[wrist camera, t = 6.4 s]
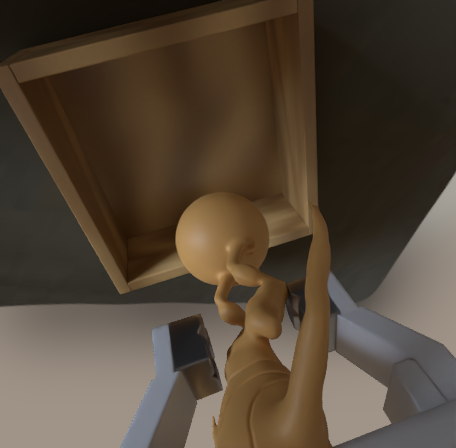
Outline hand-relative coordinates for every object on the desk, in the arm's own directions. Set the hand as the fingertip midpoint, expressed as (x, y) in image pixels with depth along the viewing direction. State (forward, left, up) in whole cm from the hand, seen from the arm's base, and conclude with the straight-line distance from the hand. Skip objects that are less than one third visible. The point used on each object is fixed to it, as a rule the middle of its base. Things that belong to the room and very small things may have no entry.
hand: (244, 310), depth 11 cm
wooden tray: (0, 0, -16) cm, 16 cm away
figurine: (-1, 0, -6) cm, 6 cm away
